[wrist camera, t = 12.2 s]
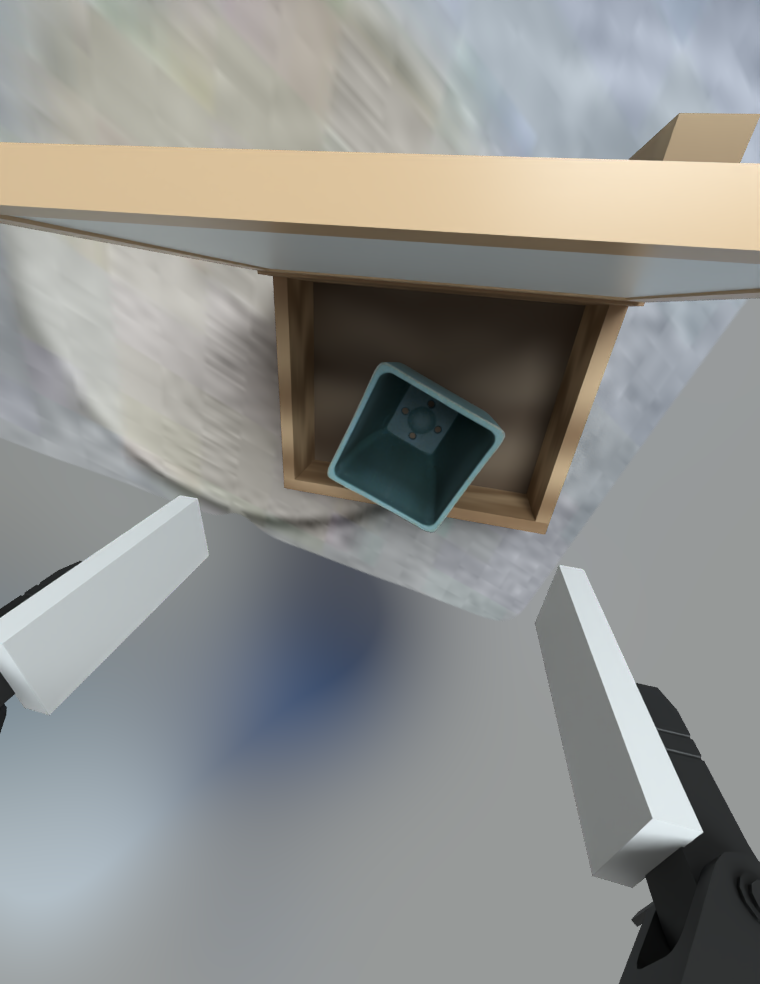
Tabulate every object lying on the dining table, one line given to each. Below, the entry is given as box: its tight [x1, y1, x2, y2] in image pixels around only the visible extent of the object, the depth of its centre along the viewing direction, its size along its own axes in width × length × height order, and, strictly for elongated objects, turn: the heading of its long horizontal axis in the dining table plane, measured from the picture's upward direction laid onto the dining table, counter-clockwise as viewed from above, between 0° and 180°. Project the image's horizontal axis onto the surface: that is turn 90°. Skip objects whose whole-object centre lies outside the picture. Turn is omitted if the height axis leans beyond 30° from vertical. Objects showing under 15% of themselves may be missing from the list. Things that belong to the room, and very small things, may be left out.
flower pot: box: [327, 362, 505, 532], centre depth 27 cm, size 9×9×9 cm
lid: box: [0, 142, 760, 302], centre depth 13 cm, size 1×22×16 cm, turn 86°
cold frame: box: [258, 113, 760, 534], centre depth 21 cm, size 19×22×20 cm
